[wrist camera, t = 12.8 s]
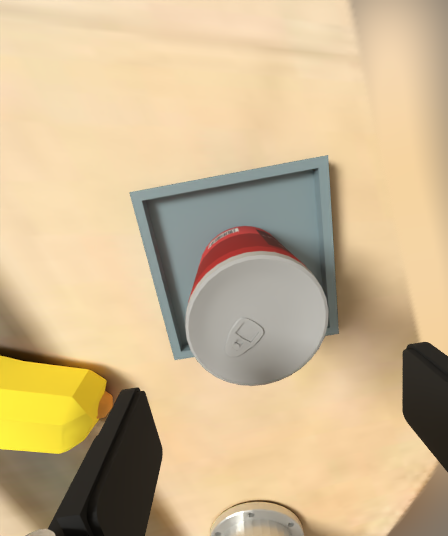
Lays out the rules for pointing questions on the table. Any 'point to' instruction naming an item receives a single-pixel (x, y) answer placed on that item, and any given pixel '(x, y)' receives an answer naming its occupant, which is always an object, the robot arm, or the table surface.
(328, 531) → the table surface
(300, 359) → the canned food
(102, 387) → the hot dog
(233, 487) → the table surface
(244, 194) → the tray
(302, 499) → the table surface
